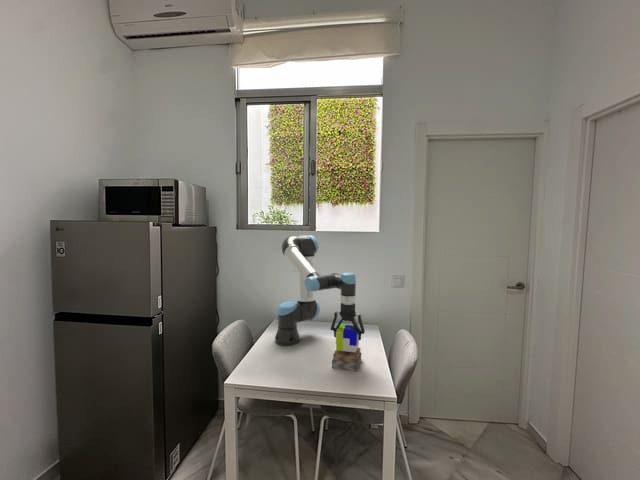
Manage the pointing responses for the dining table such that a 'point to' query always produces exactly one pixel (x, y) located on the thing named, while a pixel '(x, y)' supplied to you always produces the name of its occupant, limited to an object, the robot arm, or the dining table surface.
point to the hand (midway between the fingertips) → (347, 344)
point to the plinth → (346, 365)
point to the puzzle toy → (346, 338)
